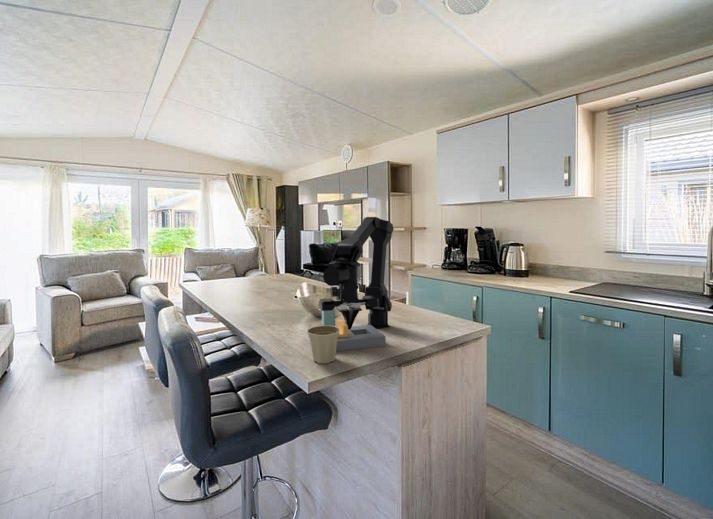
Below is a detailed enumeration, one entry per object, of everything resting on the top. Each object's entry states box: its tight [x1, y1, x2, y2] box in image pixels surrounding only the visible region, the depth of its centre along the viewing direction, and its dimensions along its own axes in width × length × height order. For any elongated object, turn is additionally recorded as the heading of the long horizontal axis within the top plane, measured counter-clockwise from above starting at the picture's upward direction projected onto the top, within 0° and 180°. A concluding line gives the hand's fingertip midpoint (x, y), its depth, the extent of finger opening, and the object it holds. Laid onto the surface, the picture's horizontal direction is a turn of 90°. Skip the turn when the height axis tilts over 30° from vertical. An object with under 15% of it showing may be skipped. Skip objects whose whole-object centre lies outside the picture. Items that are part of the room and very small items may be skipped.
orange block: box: [336, 319, 348, 338], centre depth 116 cm, size 8×8×4 cm
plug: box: [321, 307, 336, 327], centre depth 128 cm, size 4×4×9 cm
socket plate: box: [336, 324, 386, 352], centre depth 118 cm, size 20×14×3 cm
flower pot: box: [306, 325, 340, 364], centre depth 102 cm, size 9×9×9 cm
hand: (349, 329), depth 118 cm, fingers closed
